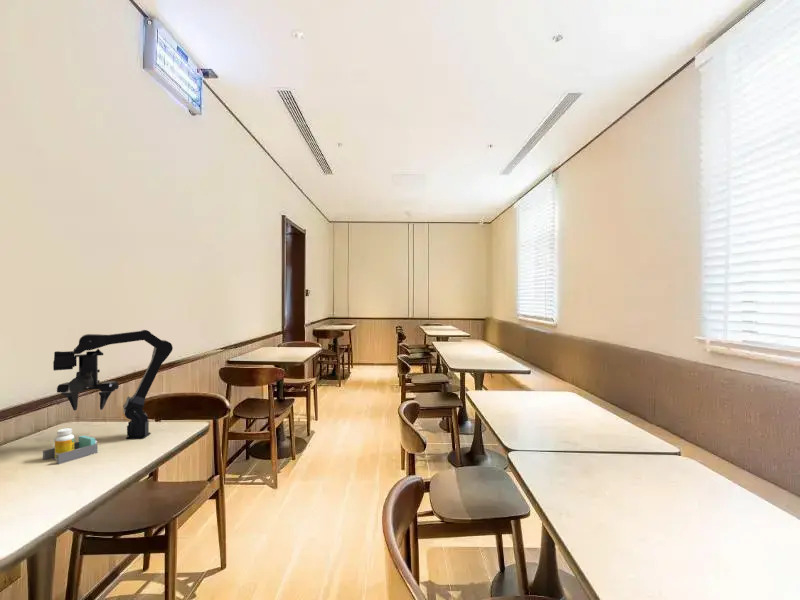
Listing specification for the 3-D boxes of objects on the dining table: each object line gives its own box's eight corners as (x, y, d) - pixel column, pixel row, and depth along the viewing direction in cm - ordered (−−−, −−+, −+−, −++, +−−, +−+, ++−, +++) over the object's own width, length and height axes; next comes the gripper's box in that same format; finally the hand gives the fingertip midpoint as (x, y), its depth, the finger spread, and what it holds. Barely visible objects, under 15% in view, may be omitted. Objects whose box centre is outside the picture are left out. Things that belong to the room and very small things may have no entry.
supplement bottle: (54, 457, 151) (54, 429, 151) (73, 453, 154) (73, 426, 154) (54, 461, 147) (55, 433, 147) (74, 458, 150) (75, 430, 150)
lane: (88, 446, 162) (88, 433, 162) (104, 450, 157) (104, 436, 157) (42, 459, 149) (42, 444, 149) (58, 464, 144) (58, 448, 144)
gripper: (46, 372, 155) (46, 416, 155) (102, 371, 157) (102, 414, 157) (66, 367, 166) (66, 408, 166) (119, 366, 168) (119, 407, 168)
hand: (88, 409), depth 164 cm, fingers open, 9 cm apart
